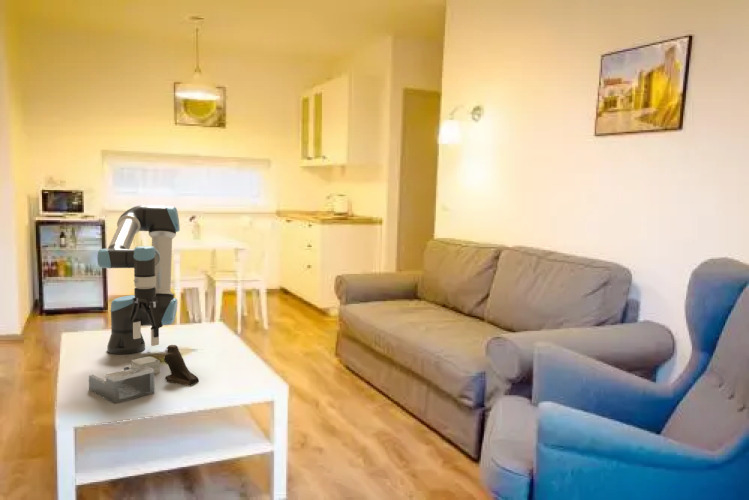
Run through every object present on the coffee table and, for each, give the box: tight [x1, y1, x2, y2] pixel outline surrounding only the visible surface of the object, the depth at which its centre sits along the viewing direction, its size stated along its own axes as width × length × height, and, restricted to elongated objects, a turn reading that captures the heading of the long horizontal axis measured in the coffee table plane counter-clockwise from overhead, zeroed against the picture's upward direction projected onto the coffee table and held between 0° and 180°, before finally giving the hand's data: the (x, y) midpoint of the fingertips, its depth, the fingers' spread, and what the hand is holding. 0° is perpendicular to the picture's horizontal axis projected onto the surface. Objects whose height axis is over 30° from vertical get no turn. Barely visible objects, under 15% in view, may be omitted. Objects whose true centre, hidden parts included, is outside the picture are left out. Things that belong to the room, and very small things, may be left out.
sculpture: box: [163, 344, 200, 386], centre depth 214 cm, size 6×13×13 cm, turn 69°
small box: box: [131, 355, 161, 375], centre depth 223 cm, size 8×8×5 cm
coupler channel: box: [88, 365, 155, 405], centre depth 202 cm, size 19×14×9 cm
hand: (145, 341), depth 221 cm, fingers open, 13 cm apart
